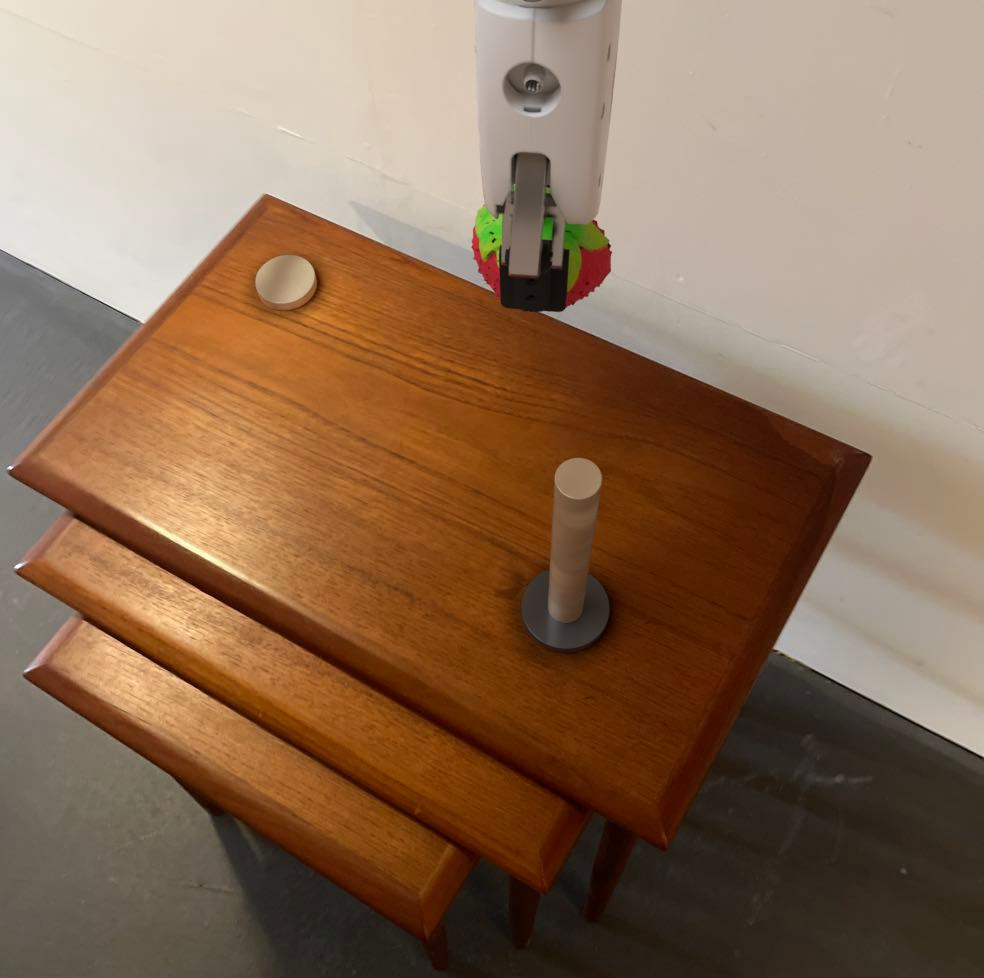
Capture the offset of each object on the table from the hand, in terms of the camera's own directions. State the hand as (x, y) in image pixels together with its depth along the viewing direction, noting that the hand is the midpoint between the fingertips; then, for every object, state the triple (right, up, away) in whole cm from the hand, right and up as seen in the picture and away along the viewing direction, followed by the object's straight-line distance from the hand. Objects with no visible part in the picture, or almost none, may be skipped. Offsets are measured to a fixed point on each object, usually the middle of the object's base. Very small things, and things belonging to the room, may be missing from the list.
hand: (541, 248), depth 49 cm
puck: (-18, +6, +32) cm, 37 cm away
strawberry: (0, -2, +5) cm, 5 cm away
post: (+3, -20, +18) cm, 27 cm away
